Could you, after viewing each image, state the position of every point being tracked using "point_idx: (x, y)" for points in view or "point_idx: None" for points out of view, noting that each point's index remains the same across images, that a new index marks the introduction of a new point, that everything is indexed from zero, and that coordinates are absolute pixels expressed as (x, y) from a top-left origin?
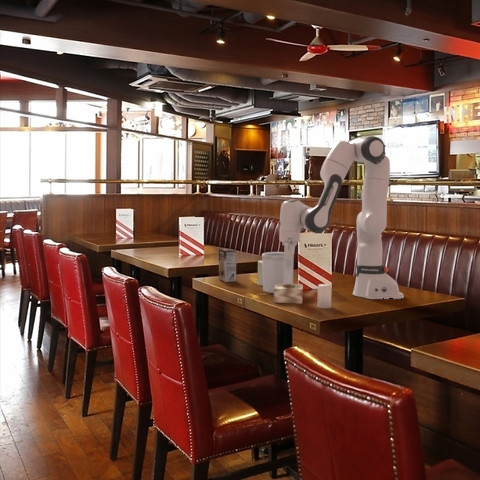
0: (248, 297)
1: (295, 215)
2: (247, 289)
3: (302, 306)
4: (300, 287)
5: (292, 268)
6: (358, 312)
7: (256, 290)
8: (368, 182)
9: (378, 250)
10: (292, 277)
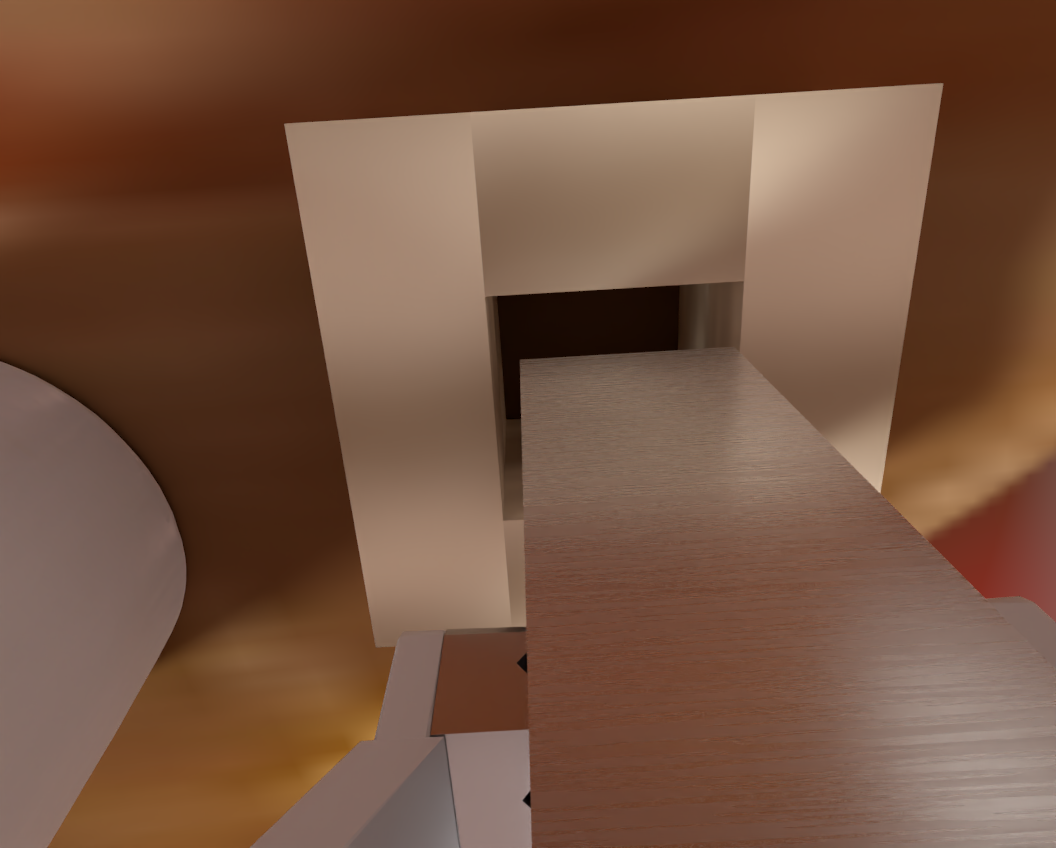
0: None
1: None
2: (98, 843)
3: (1035, 74)
4: (707, 150)
5: (926, 561)
6: None
7: (108, 759)
8: None
9: None
10: (784, 409)
